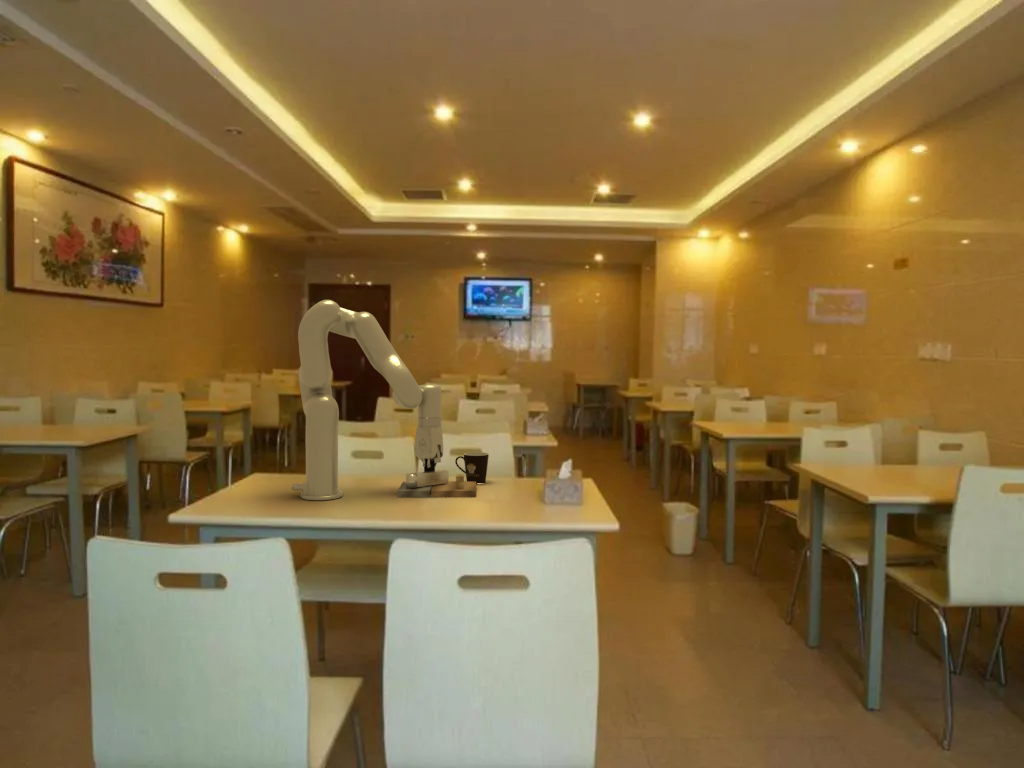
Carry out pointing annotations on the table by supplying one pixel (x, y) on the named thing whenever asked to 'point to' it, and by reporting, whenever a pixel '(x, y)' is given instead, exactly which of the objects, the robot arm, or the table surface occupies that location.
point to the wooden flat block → (441, 489)
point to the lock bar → (427, 478)
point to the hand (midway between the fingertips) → (429, 479)
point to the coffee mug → (475, 466)
